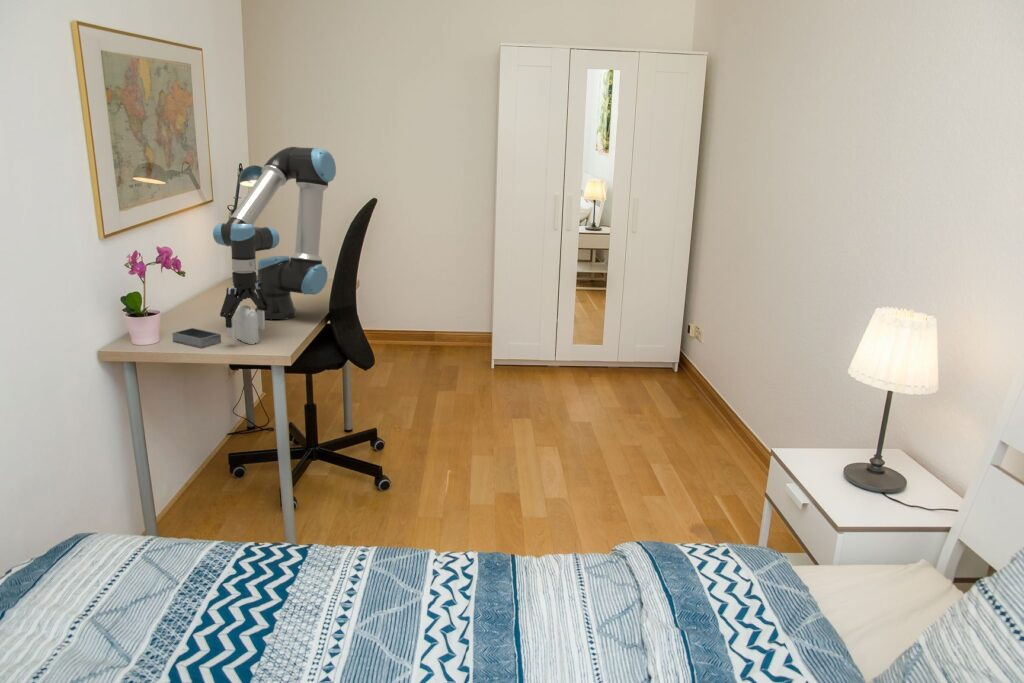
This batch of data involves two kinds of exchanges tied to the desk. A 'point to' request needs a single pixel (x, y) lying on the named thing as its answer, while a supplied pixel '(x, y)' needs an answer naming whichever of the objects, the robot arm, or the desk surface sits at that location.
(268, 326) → the desk surface
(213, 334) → the grey rectangular tray
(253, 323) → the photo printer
